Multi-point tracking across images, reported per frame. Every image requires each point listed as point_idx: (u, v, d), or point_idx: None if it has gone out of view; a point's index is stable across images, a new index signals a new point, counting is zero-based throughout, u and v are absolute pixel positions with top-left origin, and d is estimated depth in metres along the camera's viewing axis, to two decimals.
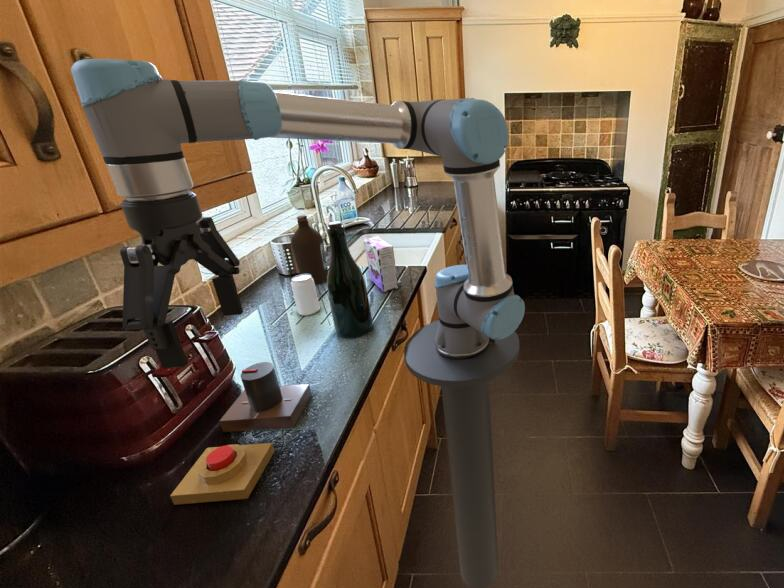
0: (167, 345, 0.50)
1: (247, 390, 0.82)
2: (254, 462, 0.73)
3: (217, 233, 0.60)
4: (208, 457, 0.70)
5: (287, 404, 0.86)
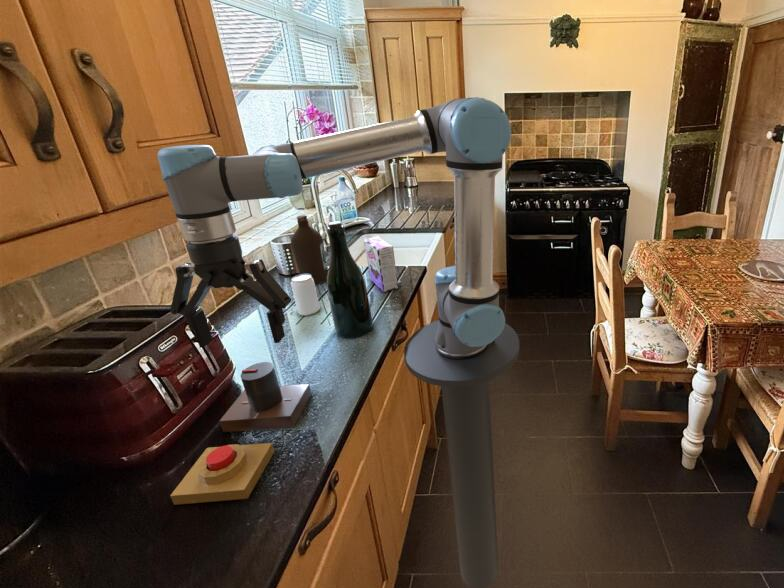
0: None
1: (247, 390, 0.82)
2: (254, 462, 0.73)
3: None
4: (208, 457, 0.70)
5: (287, 404, 0.86)
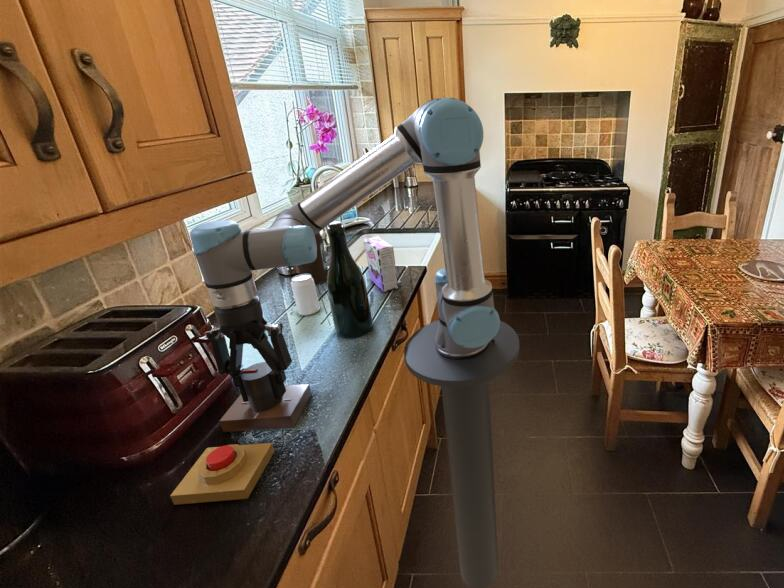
0: None
1: (247, 390, 0.82)
2: (254, 462, 0.73)
3: None
4: (208, 457, 0.70)
5: (287, 404, 0.86)
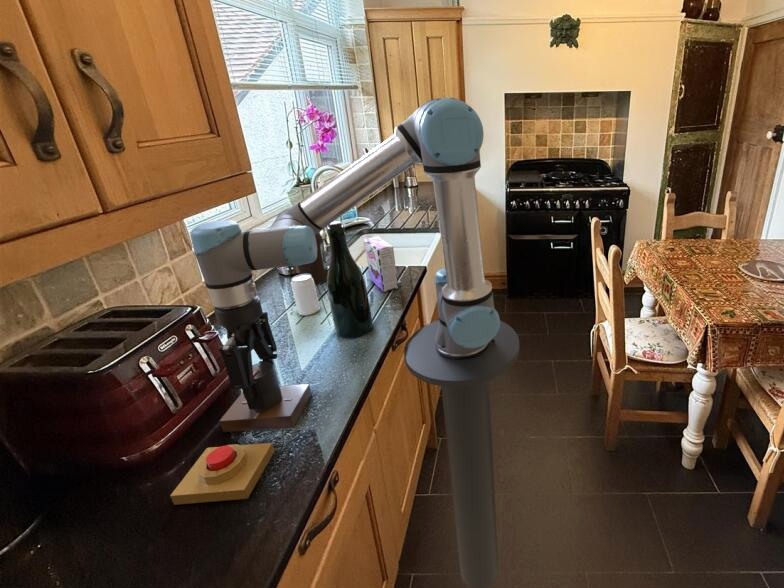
0: None
1: (271, 384, 0.84)
2: (254, 462, 0.73)
3: None
4: (208, 457, 0.70)
5: (287, 404, 0.86)
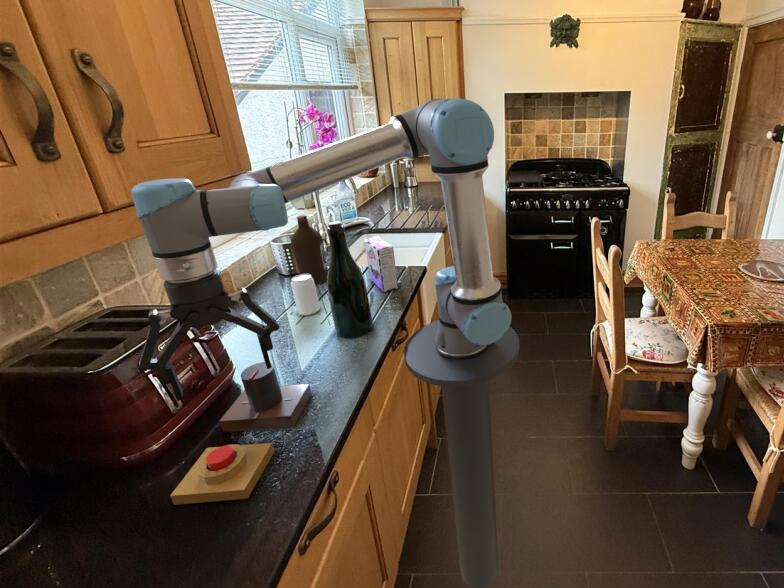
0: None
1: (271, 384, 0.84)
2: (254, 462, 0.73)
3: None
4: (208, 457, 0.70)
5: (287, 404, 0.86)
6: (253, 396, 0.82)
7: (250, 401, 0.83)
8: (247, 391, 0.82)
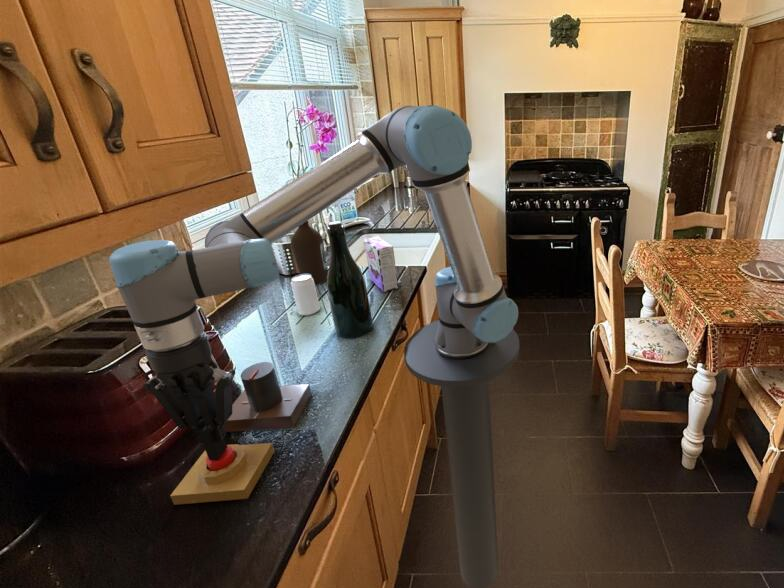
0: None
1: (271, 384, 0.84)
2: (254, 462, 0.73)
3: None
4: None
5: (287, 404, 0.86)
6: (253, 396, 0.82)
7: (250, 401, 0.83)
8: (247, 391, 0.82)
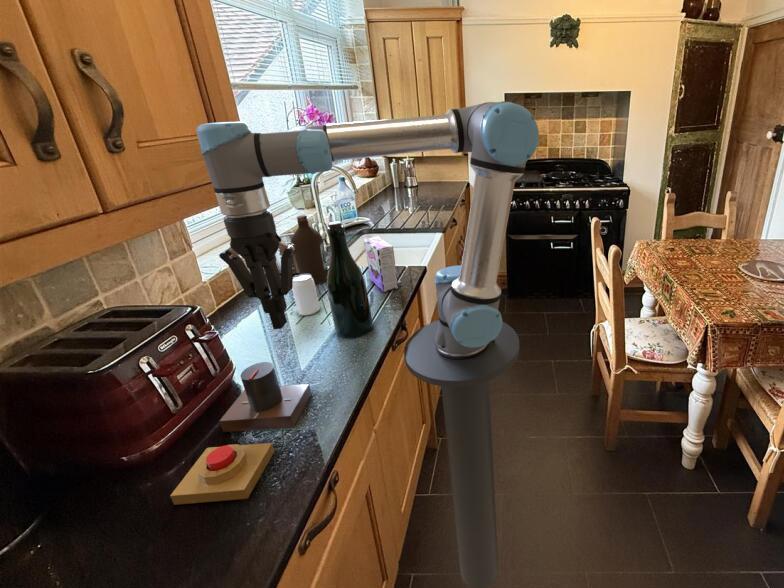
0: None
1: (271, 384, 0.84)
2: (254, 462, 0.73)
3: None
4: (208, 457, 0.70)
5: (287, 404, 0.86)
6: (253, 396, 0.82)
7: (250, 401, 0.83)
8: (247, 391, 0.82)
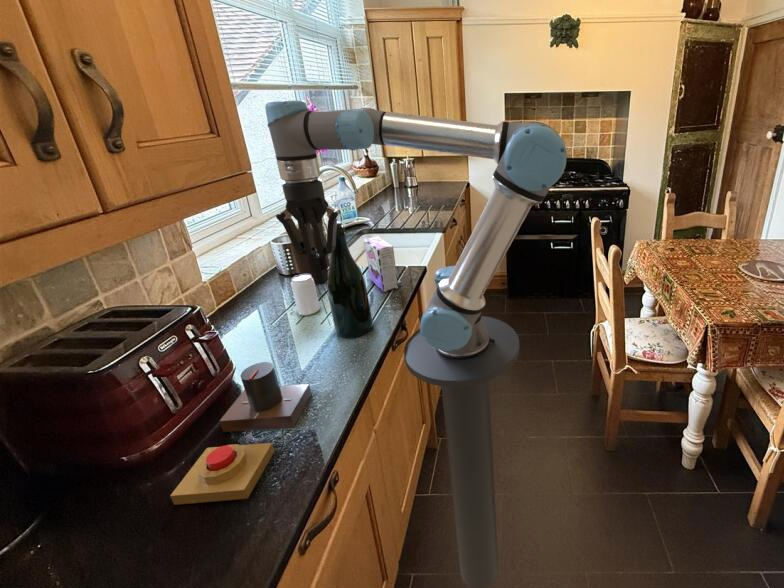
0: None
1: (271, 384, 0.84)
2: (254, 462, 0.73)
3: None
4: (208, 457, 0.70)
5: (287, 404, 0.86)
6: (253, 396, 0.82)
7: (250, 401, 0.83)
8: (247, 391, 0.82)
